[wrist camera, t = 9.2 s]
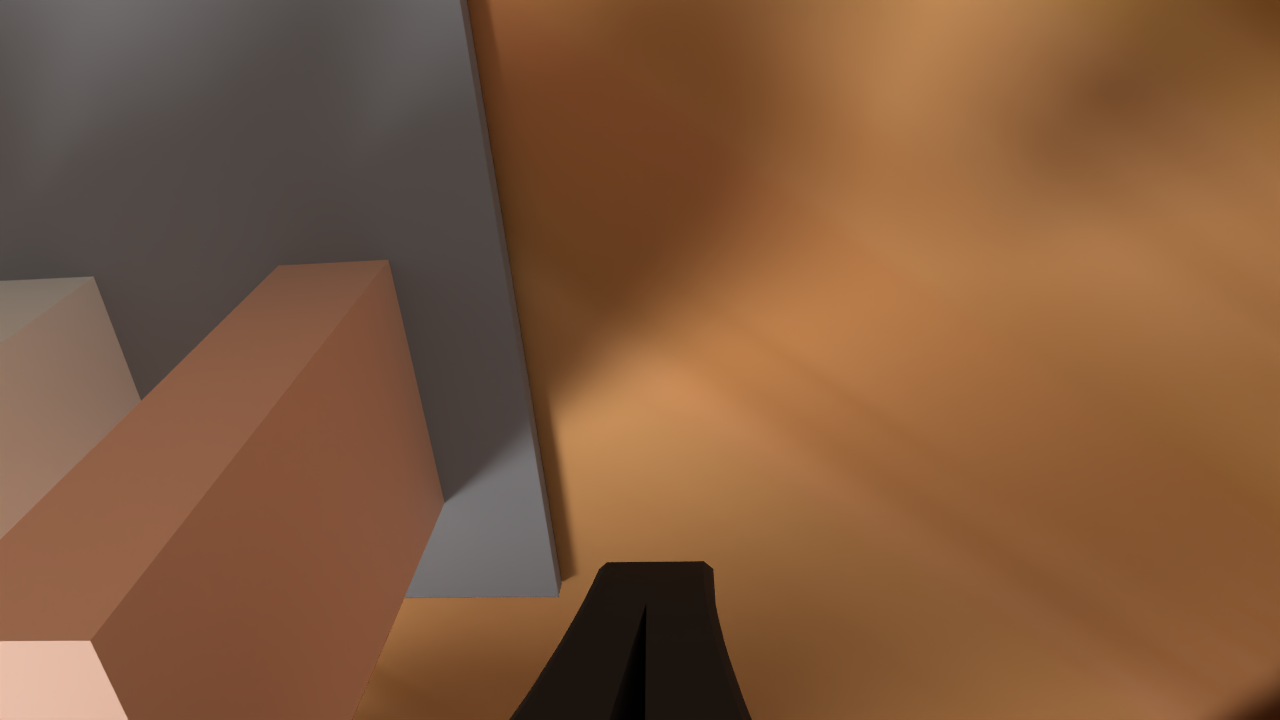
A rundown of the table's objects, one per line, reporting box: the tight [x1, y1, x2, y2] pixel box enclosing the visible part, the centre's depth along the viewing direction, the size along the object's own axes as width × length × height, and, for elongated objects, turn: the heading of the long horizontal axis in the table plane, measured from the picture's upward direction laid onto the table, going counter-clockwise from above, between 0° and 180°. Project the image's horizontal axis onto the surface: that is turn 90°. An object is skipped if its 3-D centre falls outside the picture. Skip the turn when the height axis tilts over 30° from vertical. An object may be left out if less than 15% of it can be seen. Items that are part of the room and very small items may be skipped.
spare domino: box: [0, 260, 444, 720], centre depth 14 cm, size 2×5×9 cm, turn 5°
